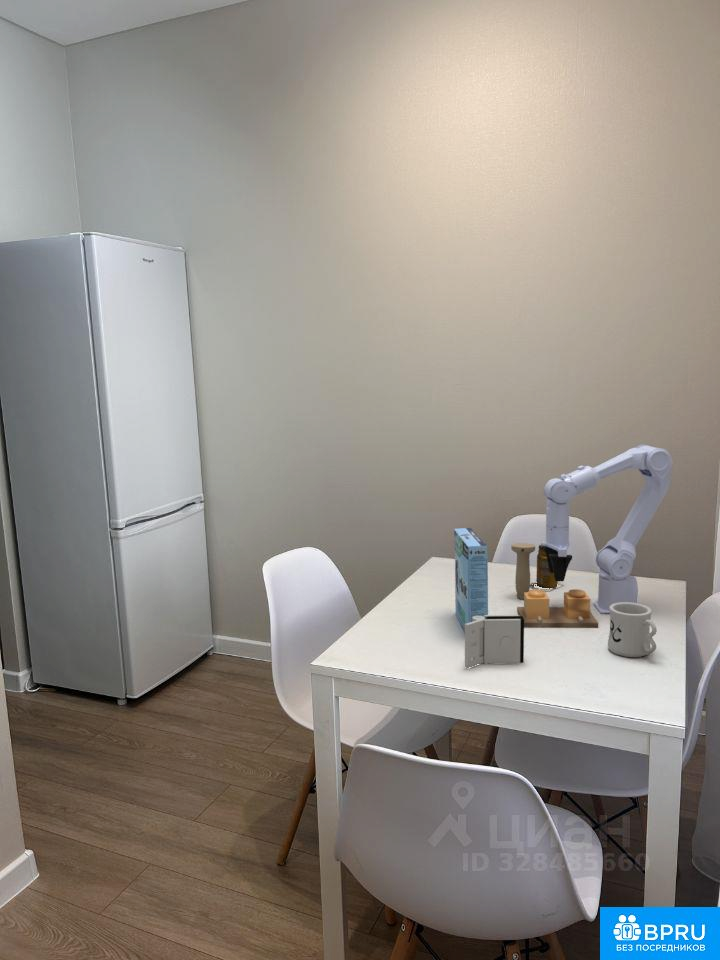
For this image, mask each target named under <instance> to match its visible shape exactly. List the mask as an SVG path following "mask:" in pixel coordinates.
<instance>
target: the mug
mask: <svg viewBox="0 0 720 960" xmlns="http://www.w3.org/2000/svg"><path fill="white" fill-rule="evenodd" d="M609 609H610V613H609V619H610V621H609V622H610V623H609V633H608V638H607V647H608V649H609V650H610V651H611V653H612V654H615V655H617V656H621V657H626V658H640V657H641V658H643V657H646V656H647V655H649V654H652V653H654V652H655V651H656V649H657V644H656V642H655V640H654V638H653V637H654V636H655V635H656V634H657V631H658V630H657V626H656V624H655V623H654V622H653V621H652V620H651V618H652V609H651V607H649V606H647V605H645V604H643V603H642V604H641V603H638V602H637V603H630V602H620V603H614V604H612V605H611V606H610V607H609ZM650 627H651V628H650ZM650 629H652V631H651V630H650ZM645 655H646V656H645ZM642 656H643V657H642Z"/></svg>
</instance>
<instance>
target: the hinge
mask: <svg viewBox="0 0 720 960" xmlns="http://www.w3.org/2000/svg"><path fill="white" fill-rule="evenodd" d="M524 652H525V627H524V618H523V616H519V614H488V615H484V617H483V616H473V617H472V622H470V623H467V624H465V631H464V668H465V667H466V668H469V667H472V666H475V665H477V664H481V663H520V662H524V661H525V659H524V658H525V657H524V656H525V654H524ZM524 663H525V662H524ZM520 664H521V663H520ZM481 665H482V664H481ZM475 667H476V666H475Z"/></svg>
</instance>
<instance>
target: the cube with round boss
mask: <svg viewBox="0 0 720 960" xmlns="http://www.w3.org/2000/svg"><path fill="white" fill-rule="evenodd" d="M546 592H547V591H543V590H538V589H534V588H532V589H529V591H528V592H524V599H523V607H524V612H525V615H526V617H527V618H537V617H538V616H540V617H541V618H549V607H550V598H549V596H548V594H547V593H546Z"/></svg>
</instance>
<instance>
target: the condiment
mask: <svg viewBox="0 0 720 960" xmlns="http://www.w3.org/2000/svg"><path fill="white" fill-rule="evenodd" d="M537 549H538V551H537V555H536V582H537V583H536V582H534V583H530V588H531V587H533V588H532V589H534V584H537V586H539V587H542V588H549V589H547V590H545V589H540V590H543V591H544V592H550V591H553V590H554V589H550V588H556V587H557V584H560V585H563V584H561V583H559V581H555V578H554V573H550V571H549V567H548V561H547V557H546V553H545V551H544V549H543V546H542V545H541V544H539V546H538V548H537ZM532 584H533V585H532ZM556 589H557V588H556ZM537 590H538V588H537Z"/></svg>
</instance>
